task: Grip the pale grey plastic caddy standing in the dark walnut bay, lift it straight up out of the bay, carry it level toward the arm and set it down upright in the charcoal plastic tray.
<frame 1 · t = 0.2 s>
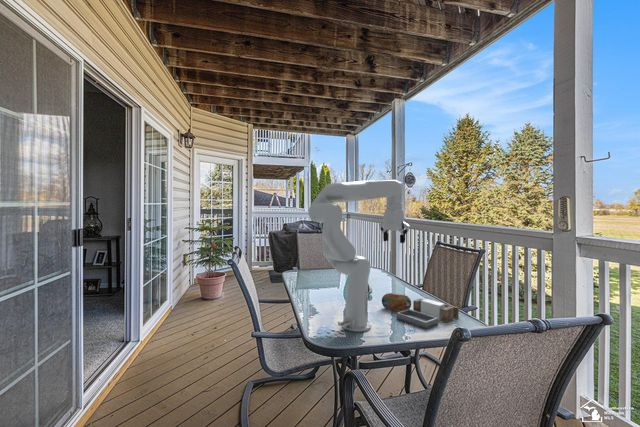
hand: (393, 241, 153), 36 cm above the table, tool pointing down, fingers open, 9 cm apart
tin: (396, 310, 162), on the table
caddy: (432, 316, 153), on the table
tray: (416, 321, 145), on the table
bay: (432, 315, 153), on the table
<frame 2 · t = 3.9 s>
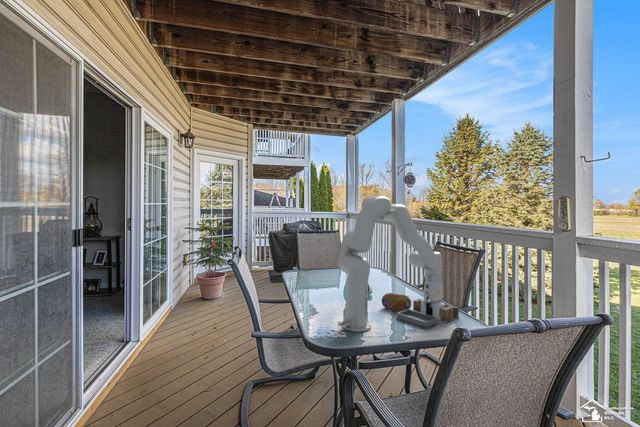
hand: (432, 313, 153), 1 cm above the table, tool pointing down, fingers closed on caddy, 5 cm apart
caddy: (432, 316, 153), on the table, touching gripper
everything else where it was.
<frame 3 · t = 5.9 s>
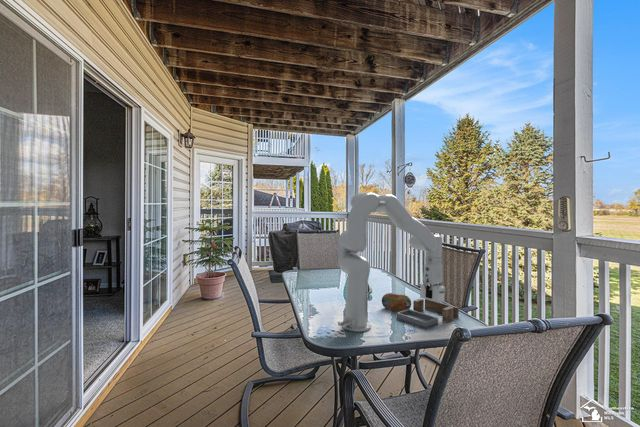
hand: (432, 296, 153), 10 cm above the table, tool pointing down, fingers closed on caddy, 5 cm apart
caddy: (432, 299, 153), point 8 cm above the table, touching gripper
everything else where it was.
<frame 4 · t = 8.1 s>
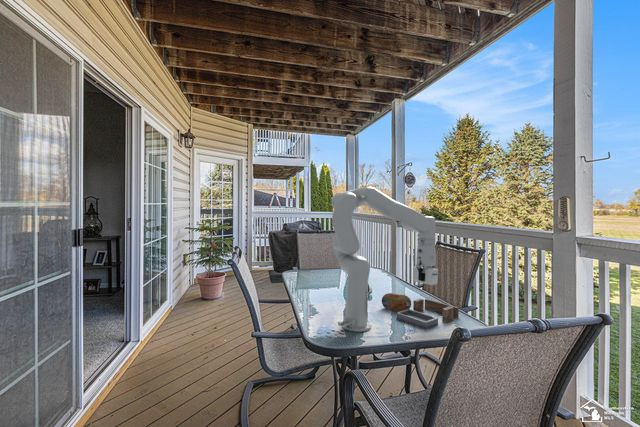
hand: (425, 279, 149), 19 cm above the table, tool pointing down, fingers closed on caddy, 5 cm apart
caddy: (425, 282, 149), point 18 cm above the table, touching gripper
everything else where it was.
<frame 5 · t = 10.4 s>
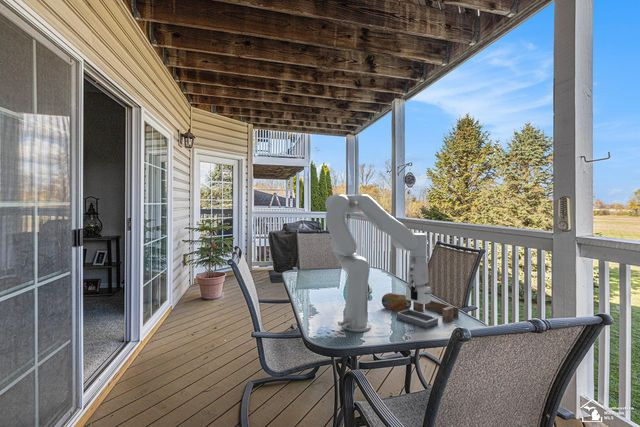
hand: (417, 298, 145), 11 cm above the table, tool pointing down, fingers closed on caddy, 5 cm apart
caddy: (417, 300, 145), point 10 cm above the table, touching gripper
everything else where it was.
when the fingers open (4 cm above the table, at t = 12.2 s): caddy drops 1 cm, resting on tray.
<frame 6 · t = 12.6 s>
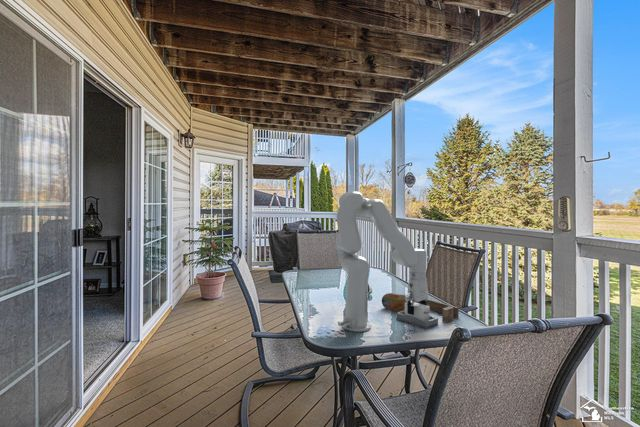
hand: (416, 311, 145), 5 cm above the table, tool pointing down, fingers open, 9 cm apart
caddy: (416, 319, 145), point 1 cm above the table, touching tray
everything else where it was.
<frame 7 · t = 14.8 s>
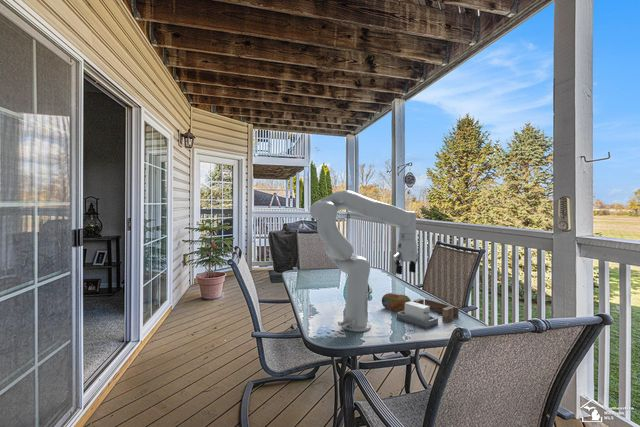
hand: (405, 272, 148), 22 cm above the table, tool pointing down, fingers open, 9 cm apart
nothing on the table moved.
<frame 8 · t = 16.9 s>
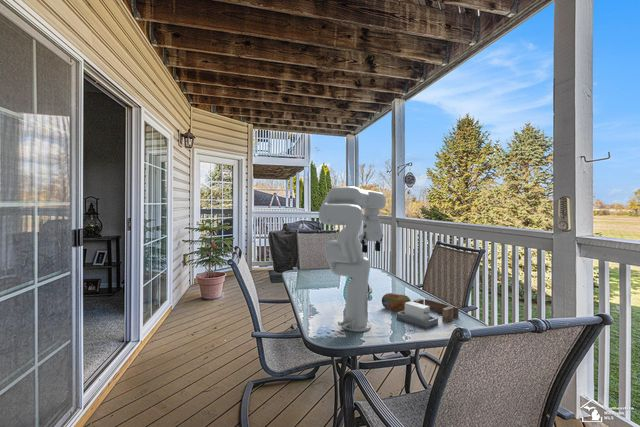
hand: (371, 251, 161), 30 cm above the table, tool pointing down, fingers open, 9 cm apart
nothing on the table moved.
at the end: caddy 0.1 cm off-centre on the tray, point 1.0 cm above the tray's base; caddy tilted 0°; the gripper is holding nothing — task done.
